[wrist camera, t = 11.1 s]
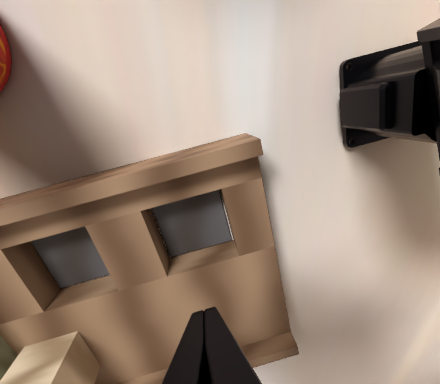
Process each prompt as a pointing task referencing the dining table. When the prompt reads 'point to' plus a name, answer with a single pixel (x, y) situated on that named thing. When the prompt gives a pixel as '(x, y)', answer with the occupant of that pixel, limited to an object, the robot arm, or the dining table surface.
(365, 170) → the dining table surface
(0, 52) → the canned food
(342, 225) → the dining table surface
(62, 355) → the maple block
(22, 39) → the dining table surface
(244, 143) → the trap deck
